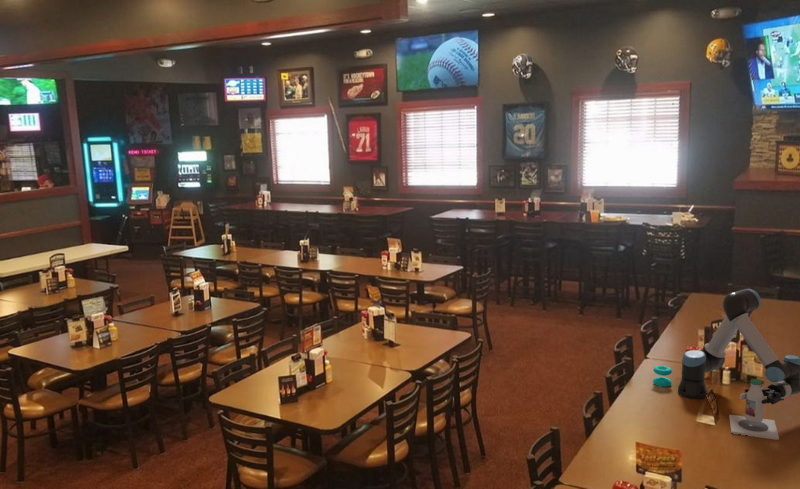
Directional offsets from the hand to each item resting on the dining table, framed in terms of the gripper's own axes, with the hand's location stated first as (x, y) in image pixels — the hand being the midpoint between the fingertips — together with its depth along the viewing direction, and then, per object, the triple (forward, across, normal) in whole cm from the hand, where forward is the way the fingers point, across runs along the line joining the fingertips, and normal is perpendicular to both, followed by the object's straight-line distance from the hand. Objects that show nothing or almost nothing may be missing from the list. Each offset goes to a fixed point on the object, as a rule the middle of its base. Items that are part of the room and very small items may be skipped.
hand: (748, 400), depth 317 cm
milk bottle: (-5, 0, -11) cm, 12 cm away
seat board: (-5, 0, -16) cm, 16 cm away
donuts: (-12, +62, -15) cm, 65 cm away
